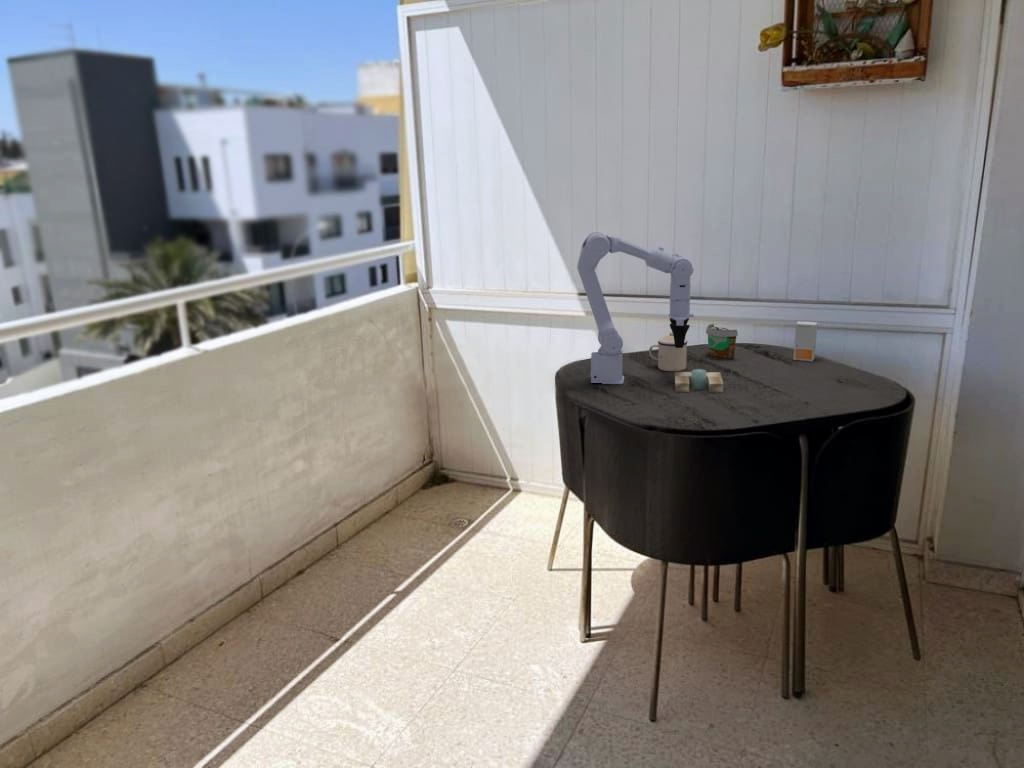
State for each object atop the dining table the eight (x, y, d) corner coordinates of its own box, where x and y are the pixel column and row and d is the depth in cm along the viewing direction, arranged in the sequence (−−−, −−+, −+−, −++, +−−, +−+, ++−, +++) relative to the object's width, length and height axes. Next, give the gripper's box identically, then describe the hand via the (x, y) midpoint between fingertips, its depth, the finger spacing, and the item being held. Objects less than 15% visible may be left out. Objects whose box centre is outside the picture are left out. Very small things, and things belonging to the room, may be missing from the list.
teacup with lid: (689, 365, 231) (690, 329, 228) (682, 372, 223) (683, 336, 220) (653, 362, 236) (653, 327, 233) (645, 369, 229) (645, 333, 225)
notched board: (675, 391, 205) (675, 383, 204) (674, 379, 216) (674, 371, 216) (723, 392, 202) (723, 383, 202) (719, 380, 214) (720, 372, 213)
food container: (697, 354, 244) (698, 325, 241) (711, 352, 246) (712, 323, 244) (721, 362, 233) (723, 332, 230) (736, 359, 236) (738, 329, 233)
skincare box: (792, 360, 232) (795, 323, 229) (795, 357, 236) (797, 320, 232) (813, 361, 229) (816, 324, 226) (815, 358, 233) (818, 322, 229)
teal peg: (691, 389, 206) (691, 372, 205) (690, 385, 210) (691, 369, 209) (705, 389, 206) (706, 372, 204) (705, 385, 209) (705, 369, 208)
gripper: (695, 303, 204) (693, 350, 207) (693, 295, 217) (691, 339, 221) (669, 303, 205) (668, 350, 209) (669, 295, 219) (668, 339, 222)
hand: (678, 344), depth 215 cm, fingers open, 7 cm apart
